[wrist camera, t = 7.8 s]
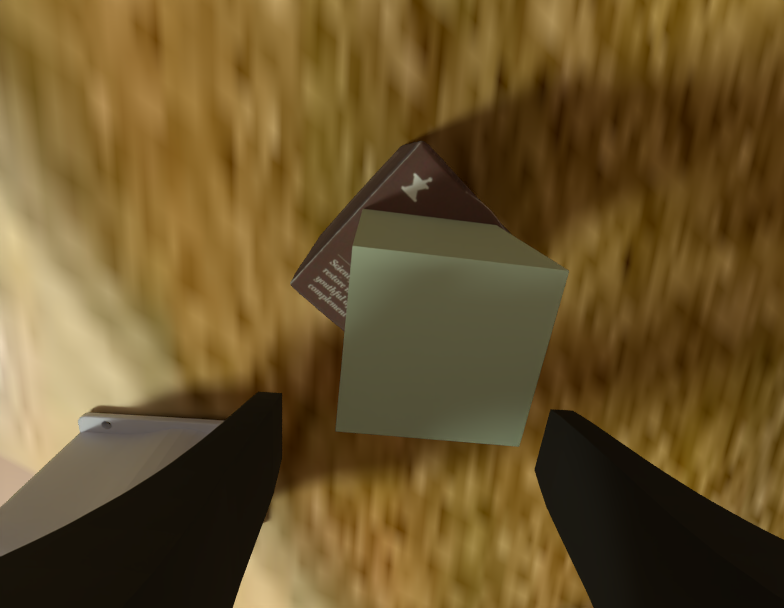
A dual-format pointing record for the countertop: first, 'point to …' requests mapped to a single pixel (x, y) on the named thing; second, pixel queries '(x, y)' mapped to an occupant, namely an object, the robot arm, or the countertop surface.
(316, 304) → the box
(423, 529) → the countertop surface
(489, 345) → the sage block
